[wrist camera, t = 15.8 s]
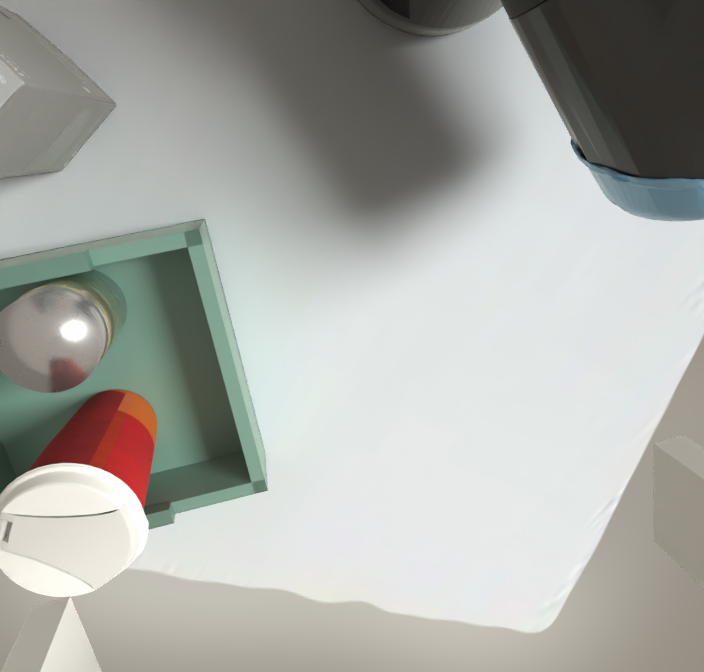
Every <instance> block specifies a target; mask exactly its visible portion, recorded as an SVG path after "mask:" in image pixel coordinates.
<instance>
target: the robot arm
mask: <svg viewBox="0 0 704 672" xmlns="http://www.w3.org/2000/svg"><path fill="white" fill-rule="evenodd" d="M358 1H359V2H360V3H361V4H362V5H363V6H364V7H365V8H366V9H367V10H368V11H369V12H371V13H372V14H373V15H374V16H376V17H377V18H378V19H380V20H381V21H383V22H385V23H386V24H388V25H390V26H392V27H394V28H397V29H399V30H402V31H405V32H408V33H412V34H417V35H426V36H438V35H446V34H451V33H455V32H459V31H462V30H464V29H467V28H469V27H471V26H473V25H475V24H477V23H479V22H480V21H482V20H484V19H486V18H487V17H489V16H491V15H492V14H494V13H495V12H496V11H498V10H499V9H500V8H501V7H504V8H505V10H506V12H507V14H508V16H509V20H510V22H511V24H512V26H513V27H514V29H515V31H516V33H517V35H518V37H519V39H520V41H521V43H522V45H523V46H524V48H525V50H526V52H527V54H528V56H529V58H530V60H531V62H532V64H533V65H534V67H535V69H536V71H537V73H538V75H539V77H540V79H541V81H542V83H543V84H544V86H545V88H546V90H547V92H548V94H549V96H550V98H551V100H552V102H553V103H554V105H555V107H556V109H557V111H558V113H559V115H560V117H561V119H562V121H563V122H564V124H565V126H566V128H567V130H568V132H569V134H570V136H571V145H572V148H573V150H574V152H575V154H576V155H577V157H578V158H579V159H580V160H581V161H582V162H583V163H584V164H585V165H586V166H587V167H588V168H589V170H590V171H591V173H592V175H593V176H594V178H595V180H596V181H597V183H598V185H599V187H600V188H601V190H602V191H603V193H604V194H605V196H606V197H607V198H608V199H609V200H610V201H611V202H612V203H614V204H615V205H617V206H619V207H620V208H621V209H623V210H624V211H627V212H628V213H630V214H632V215H635V216H639V217H643V218H647V219H652V220H661V221H692V220H703V219H704V0H358ZM653 490H654V491H653V495H654V541H655V542H656V543H657V544H658V545H659V546H660V547H661V548H662V549H663V550H664V551H665V552H666V553H667V554H668V555H669V556H670V557H671V558H672V559H674V560H675V561H676V562H677V563H678V564H679V565H680V566H681V567H682V568H683V569H684V570H685V571H686V572H687V573H688V574H689V575H690V576H692V578H694V579H695V580H696V581H697V582H698V583H699V584H700V585H701V586H702V587H703V588H704V448H702V447H701V446H699V445H697V444H696V443H695V442H693V441H691V440H690V439H688V438H687V437H685V436H684V435H682V436H678V437H674V438H670V439H667V440H663V441H659V442H655V443H653ZM1 672H102V671H101V669H100V666H99V664H98V662H97V659H96V657H95V654H94V652H93V650H92V647H91V645H90V643H89V640H88V638H87V636H86V633H85V631H84V628H83V626H82V624H81V621H80V619H79V616H78V614H77V612H76V609H75V607H74V605H73V602H72V600H71V598H70V596H69V597H65V598H62V599H58V600H54V601H50V602H46V603H43V604H39V605H35V606H32V607H31V609H30V611H29V613H28V615H27V617H26V620H25V622H24V624H23V626H22V628H21V630H20V632H19V634H18V637H17V639H16V641H15V643H14V645H13V648H12V650H11V652H10V654H9V656H8V658H7V660H6V662H5V664H4V666H3V669H2V671H1Z"/></svg>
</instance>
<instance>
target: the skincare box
mask: <svg viewBox="0 0 704 672" xmlns="http://www.w3.org/2000/svg"><path fill="white" fill-rule="evenodd" d="M115 106H116V103H115V102H114V101H113V100H112V99H111V98H110V97H109V96H108V95H107V94H106V93H105V92H104V91H103V90H102V89H101V88H99V87H98V86H97V85H96V84H95V83H94V82H93V81H92V80H91V79H90V78H89V77H88V76H87V75H86V74H85V73H84V72H82V71H81V70H80V69H79V68H78V67H77V66H76V65H75V64H74V63H73V62H72V61H71V60H70V59H68V58H67V57H66V56H65V55H64V54H63V53H62V52H61V51H60V50H58V49H57V48H56V47H55V46H54V45H53V44H52V43H50V42H49V41H48V40H47V39H46V38H45V37H43V36H42V35H41V34H40V33H39V32H38V31H36V30H35V29H34V28H33V27H32V26H30V25H29V24H28V23H27V22H26V21H24V20H23V19H22V18H21V17H20V16H18V15H17V14H15V13H13V12H11V11H9V10H7V9H5V8H3V7H1V6H0V178H6V177H15V176H24V175H33V174H41V173H50V172H57V171H62V170H63V168H64V167H65V166H66V165H67V164H68V162H69V161H70V160H71V159H72V158H73V156H74V155H75V154H76V153H77V152H78V151H79V149H80V148H81V147H82V146H83V145H84V143H85V142H86V141H87V140H88V139H89V137H90V136H91V135H92V134H93V133H94V131H95V130H96V129H97V128H98V127H99V126H100V124H101V123H102V122H103V121H104V120H105V118H106V117H107V116H108V115H109V114H110V112H111V111H112V110H113V109H114V108H115Z"/></svg>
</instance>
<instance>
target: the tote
mask: <svg viewBox="0 0 704 672" xmlns="http://www.w3.org/2000/svg"><path fill="white" fill-rule="evenodd" d="M92 269H94V270H97V271H99V272H101V273H103V274H105V275H107V276H108V277H110V278H111V279H112V280H113V281H114V282H115V283H116V284H117V285H118V286H119V287H120V289H121V290H122V292H123V294H124V296H125V299H126V303H127V318H126V322H125V324H124V326H123V328H122V330H121V331H120V333H119V334H118V336H117V338H116V340H115V341H114V343H113V344H112V345H111V347H110V348H109V350H108V351H107V353H106V354H105V356H104V357H103V358H102V360H101V361H100V362H99V364H98V365H97V366H96V367H95V369H94V370H93V371H92V373H91V374H90V376H89V377H88V378H87V379H86V380H85V381H83V382H82V383H81V384H79V385H77V386H76V387H74V388H71V389H69V390H66V391H62V392H56V393H41V392H36V391H32V390H28V389H26V388H23V387H21V386H19V385H17V384H16V383H14V382H13V381H11V380H10V379H9V378H8V377H6V376H5V375H4V374H3V373H2V371H1V370H0V494H1V493H2V492H3V491H4V489H5V488H6V487H7V486H8V485H9V484H10V483H11V482H13V481H14V480H15V479H16V478H18V477H19V476H21V475H23V474H24V473H26V472H27V471H28V470H29V468H30V467H31V466H32V465H33V463H34V462H35V461H36V460H37V458H38V457H39V456H40V454H41V453H42V452H43V450H44V449H45V448H46V447H47V445H48V444H49V443H50V442H51V441H52V440H53V438H54V437H55V436H56V435H57V434H58V433H59V432H60V431H61V430H62V428H63V427H64V426H65V425H66V424H67V422H68V421H69V420H70V419H71V418H72V417H73V415H74V414H75V413H76V412H77V411H78V410H79V408H80V407H81V406H82V405H83V404H84V403H85V402H86V401H87V400H88V399H90V398H91V397H92V396H94V395H96V394H97V393H100V392H102V391H106V390H111V389H122V390H128V391H131V392H134V393H136V394H138V395H140V396H141V397H143V398H144V399H145V400H146V401H147V402H148V403H149V404H150V405H151V407H152V408H153V410H154V412H155V415H156V419H157V435H156V442H155V448H154V454H153V460H152V466H151V472H150V477H149V483H148V489H147V494H146V500H145V505H144V513H145V516H146V518H147V520H148V529H152V528H156V527H160V526H164V525H168V524H172V523H174V519H175V514H177V513H181V512H185V511H189V510H193V509H196V508H200V507H204V506H208V505H212V504H216V503H220V502H224V501H228V500H232V499H236V498H240V497H244V496H248V495H252V494H256V493H260V492H264V491H268V488H267V473H266V458H265V450H264V446H263V442H262V438H261V434H260V431H259V427H258V423H257V419H256V415H255V411H254V407H253V403H252V399H251V396H250V392H249V388H248V384H247V380H246V376H245V372H244V368H243V365H242V361H241V357H240V353H239V349H238V345H237V341H236V337H235V334H234V330H233V326H232V322H231V318H230V314H229V310H228V306H227V303H226V299H225V295H224V291H223V287H222V283H221V279H220V275H219V272H218V268H217V264H216V260H215V256H214V252H213V248H212V244H211V240H210V237H209V233H208V229H207V225H206V221H205V219H202V220H197V221H192V222H187V223H182V224H177V225H172V226H167V227H162V228H157V229H152V230H147V231H142V232H137V233H132V234H127V235H122V236H117V237H112V238H107V239H102V240H97V241H92V242H87V243H82V244H77V245H72V246H67V247H62V248H57V249H52V250H47V251H42V252H37V253H32V254H27V255H22V256H17V257H12V258H7V259H2V260H0V312H1V311H2V310H3V309H5V308H6V307H7V306H8V305H10V304H11V303H13V302H15V301H16V300H18V299H19V298H20V297H21V296H22V295H24V294H25V293H27V292H28V291H30V290H32V289H33V288H35V287H36V286H38V285H39V284H41V283H43V282H44V281H46V280H48V279H53V278H57V277H62V276H67V275H72V274H77V273H82V272H87V271H91V270H92Z"/></svg>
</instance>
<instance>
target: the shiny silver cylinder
mask: <svg viewBox="0 0 704 672" xmlns="http://www.w3.org/2000/svg"><path fill="white" fill-rule="evenodd" d="M126 318H127V303H126V299H125V296H124V294H123V292H122V290H121V289H120V287H119V286H118V285H117V284H116V283H115V282H114V281H113V280H112V279H111V278H110V277H108V276H107V275H105V274H103V273H101V272H99V271H97V270H94V269H92V270H91V271H87V272H82V273H77V274H72V275H67V276H62V277H57V278H53V279H48V280H46V281H44V282H43V283H41V284H39V285H38V286H36V287H35V288H33V289H32V290H30V291H28V292H27V293H25V294H24V295H22V296H21V297H20V298H19V299H18V300H16V301H15V302H13V303H11V304H10V305H8V306H7V307H6V308H5V309H3V310H2V311H1V312H0V370H1V371H2V373H3V374H4V375H5V376H6V377H8V378H9V379H10V380H11V381H13V382H14V383H16V384H17V385H19V386H21V387H23V388H26V389H28V390H32V391H36V392H41V393H56V392H62V391H66V390H69V389H71V388H74V387H76V386H77V385H79V384H81V383H82V382H83V381H85V380H86V379H87V378H88V377H89V376H90V374H91V373H92V371H93V370H94V369H95V367H96V366H97V365H98V364H99V362H100V361H101V360H102V358H103V357H104V356H105V354H106V353H107V351H108V350H109V348H110V347H111V345H112V344H113V343H114V341H115V340H116V338H117V336H118V334H119V333H120V331H121V330H122V328H123V326H124V324H125V322H126Z"/></svg>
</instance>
